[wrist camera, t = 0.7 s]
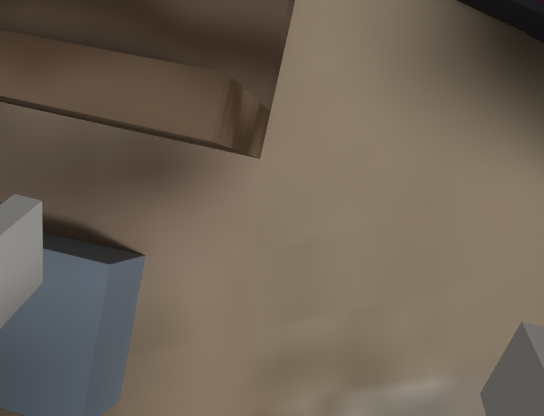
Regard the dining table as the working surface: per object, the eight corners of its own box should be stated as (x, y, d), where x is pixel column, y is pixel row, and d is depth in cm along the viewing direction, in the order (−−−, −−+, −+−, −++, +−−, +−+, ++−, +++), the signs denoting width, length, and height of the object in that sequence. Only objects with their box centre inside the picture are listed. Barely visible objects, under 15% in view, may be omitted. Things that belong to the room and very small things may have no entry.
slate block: (120, 399, 34) (79, 432, 29) (-32, 355, 36) (-94, 379, 31) (147, 254, 34) (109, 264, 29) (-10, 218, 36) (-69, 221, 31)
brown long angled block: (259, 158, 32) (211, 141, 22) (-63, 87, 36) (-224, 46, 26) (298, -18, 31) (266, -117, 21) (-35, -69, 35) (-190, -171, 25)
